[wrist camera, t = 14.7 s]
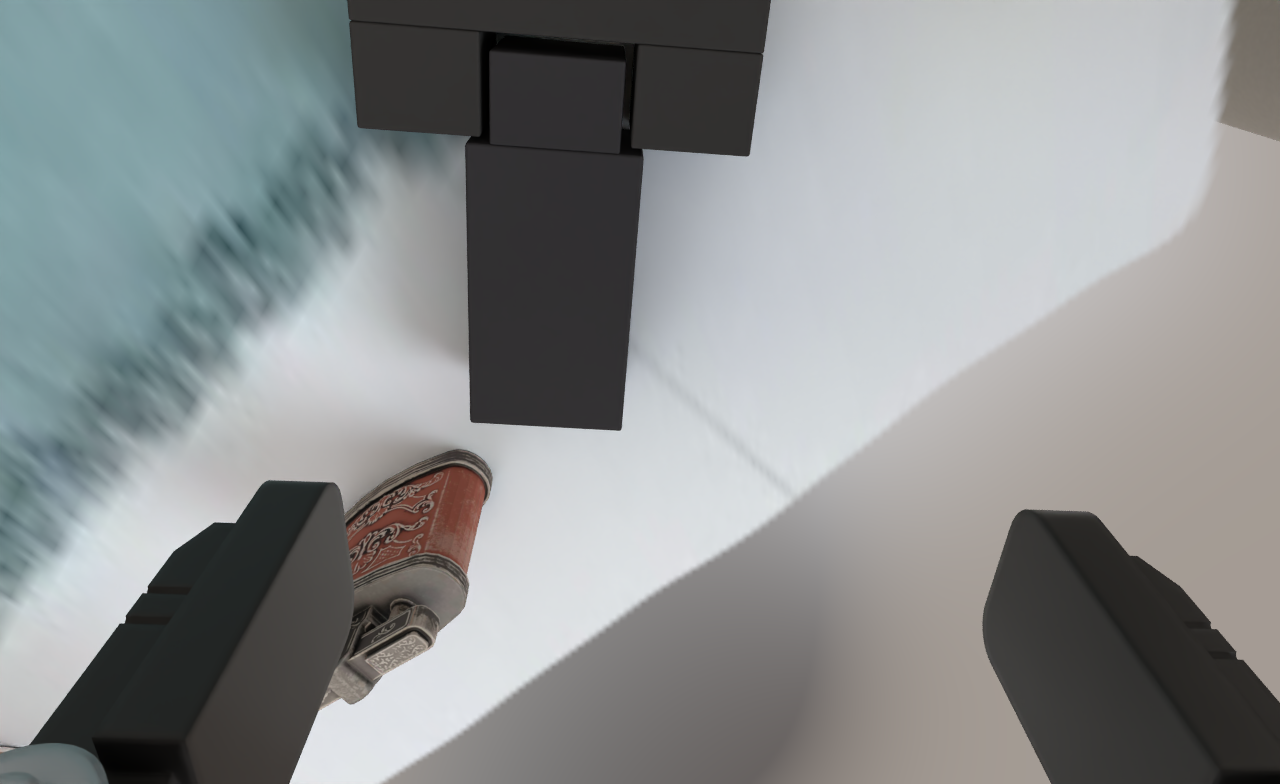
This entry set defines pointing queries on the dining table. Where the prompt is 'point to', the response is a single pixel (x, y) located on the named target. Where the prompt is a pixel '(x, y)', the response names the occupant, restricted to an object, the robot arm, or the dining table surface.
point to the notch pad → (568, 8)
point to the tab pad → (551, 237)
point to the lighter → (408, 566)
